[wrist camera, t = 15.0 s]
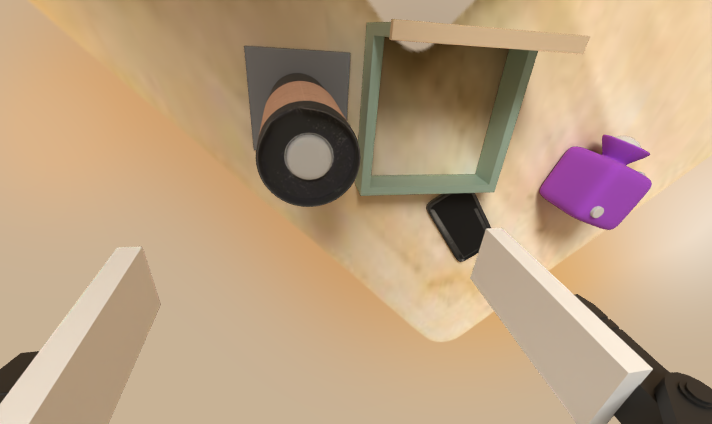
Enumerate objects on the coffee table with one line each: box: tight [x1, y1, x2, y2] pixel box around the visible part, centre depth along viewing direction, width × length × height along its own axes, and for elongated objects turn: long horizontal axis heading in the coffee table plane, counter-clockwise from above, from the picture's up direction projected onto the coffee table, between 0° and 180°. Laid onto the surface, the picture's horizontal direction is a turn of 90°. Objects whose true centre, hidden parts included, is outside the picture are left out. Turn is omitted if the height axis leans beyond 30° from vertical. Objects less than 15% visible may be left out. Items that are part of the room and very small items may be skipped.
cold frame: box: [355, 19, 590, 196], centre depth 39 cm, size 21×20×11 cm
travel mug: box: [256, 73, 361, 207], centre depth 31 cm, size 8×8×20 cm
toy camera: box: [540, 135, 652, 230], centre depth 49 cm, size 11×14×10 cm
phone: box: [426, 193, 491, 262], centre depth 55 cm, size 8×1×15 cm
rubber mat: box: [244, 46, 350, 150], centre depth 40 cm, size 12×12×1 cm
